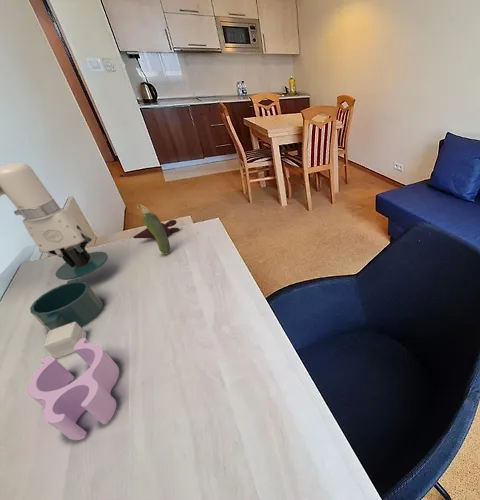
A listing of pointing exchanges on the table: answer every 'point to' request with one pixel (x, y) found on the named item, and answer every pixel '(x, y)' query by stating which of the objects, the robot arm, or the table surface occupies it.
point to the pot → (67, 305)
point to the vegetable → (155, 229)
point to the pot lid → (80, 264)
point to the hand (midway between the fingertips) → (80, 262)
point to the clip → (75, 390)
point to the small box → (63, 339)
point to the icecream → (148, 234)
